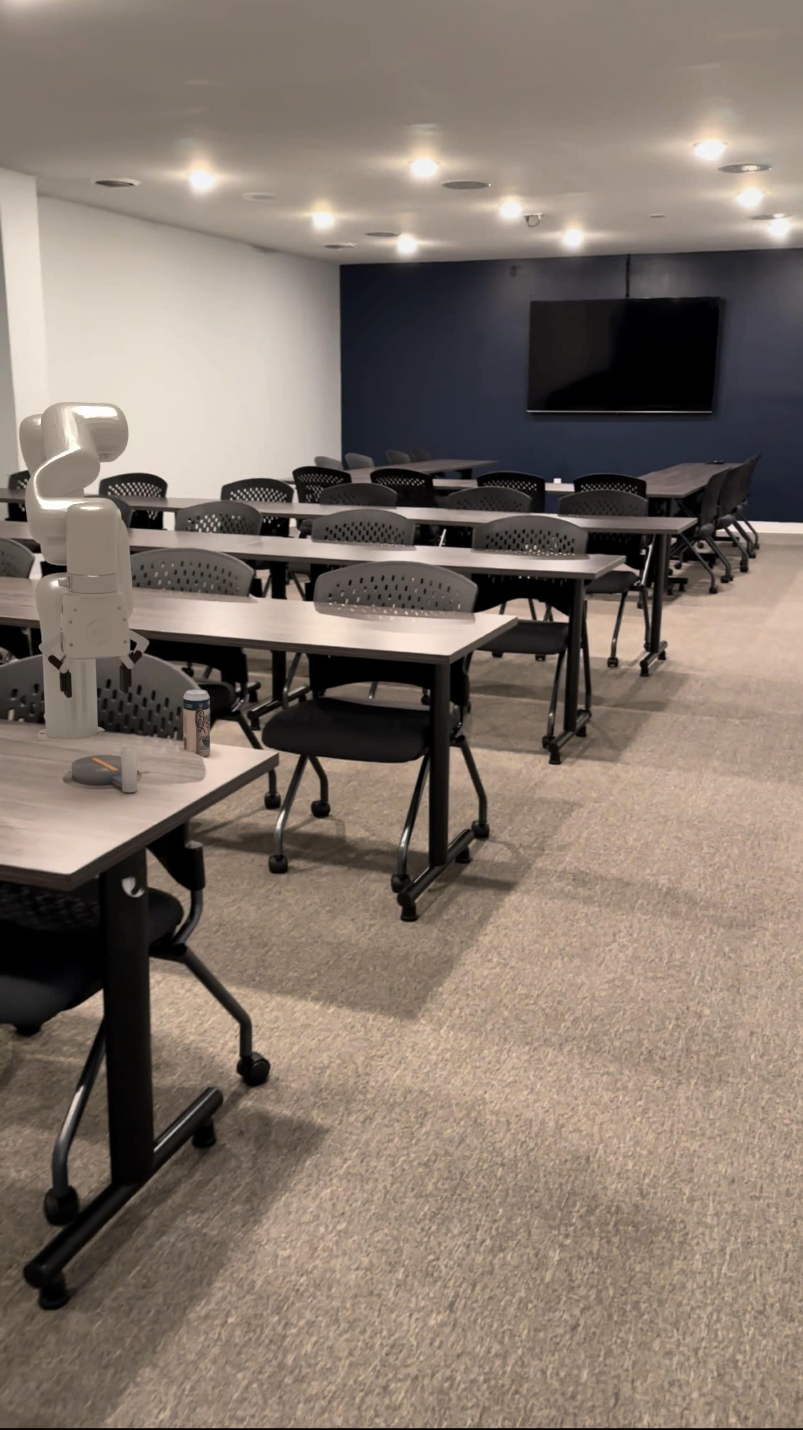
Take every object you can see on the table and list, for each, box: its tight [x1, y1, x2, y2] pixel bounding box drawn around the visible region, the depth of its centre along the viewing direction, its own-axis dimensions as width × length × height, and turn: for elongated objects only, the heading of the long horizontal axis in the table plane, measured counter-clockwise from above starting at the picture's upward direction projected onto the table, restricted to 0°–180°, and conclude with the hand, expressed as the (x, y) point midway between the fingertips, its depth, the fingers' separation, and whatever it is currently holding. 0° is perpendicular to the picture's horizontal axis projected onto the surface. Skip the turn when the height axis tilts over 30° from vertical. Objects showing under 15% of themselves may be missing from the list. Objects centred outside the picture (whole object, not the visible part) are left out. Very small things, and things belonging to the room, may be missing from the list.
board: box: [62, 770, 150, 790], centre depth 207 cm, size 20×17×1 cm
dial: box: [70, 746, 138, 793], centre depth 202 cm, size 16×10×7 cm, turn 40°
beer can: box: [182, 689, 211, 758], centre depth 223 cm, size 5×5×12 cm
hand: (96, 693), depth 192 cm, fingers open, 8 cm apart
